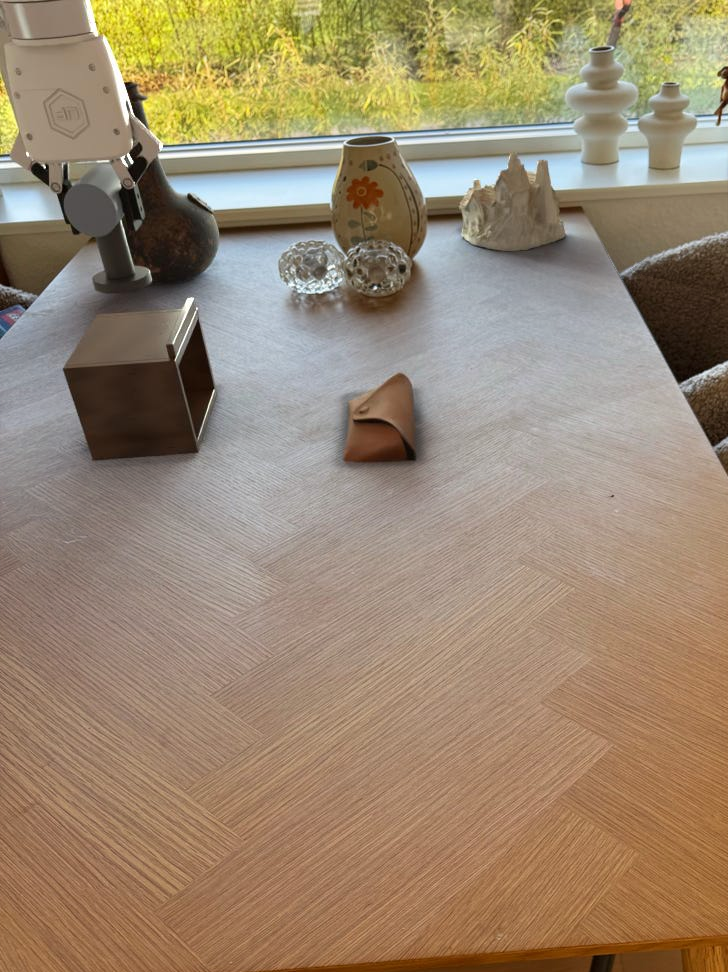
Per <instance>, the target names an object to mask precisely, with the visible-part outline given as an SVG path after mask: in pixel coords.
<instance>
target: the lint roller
mask: <svg viewBox="0 0 728 972" xmlns="http://www.w3.org/2000/svg"><path fill="white" fill-rule="evenodd" d="M120 182H121V181H120V180H119V178H118V176H117V174H116V172H115V170H114V169H113V167H112V165H111V164H108V163H99V164H96V165H94V166H92V167H91V168H89V170H88V171H87V172H86V173H85V174H83V176H82V177H81V178H79V179H78V181H76V183H74V184H73V185H72V187H71V188H70V189H69V190H68V192H67V193H66V195H65V199H64V210H65V213H66V216H67V218H68V220H69V221H70V223H71V224H72V225H73V226H74V227H75V228H76V229H77V230H78V231H80V232H81V233H80V234H83V235H85V236H87V237H91V238H95V241H96V246H97V249H98V252H99V255H100V259H101V262H102V263H101V264H102V266H103V270H101V271H99V272H97V273H95V274H94V275H93V276H92V278H91V281H92V284H93V287H94V290H95V291H96V292H98V293H100V294H110V295H115V294H117V295H118V294H126V293H132V292H135V291H138V290H142V289H144V288H146V287H148V286H149V285H151V284H152V283H151V282H152V278H151V274H150V270H149V269H148V268H145V267H142V266H133V262H132V258H131V254H130V251H129V247H128V243H127V239H126V235H125V232H124V228H123V224H122V220H121V219H122V217H123V216H124V211H123V207H122V202H121V199H120V196H119V191H120V189H121V184H120Z"/></svg>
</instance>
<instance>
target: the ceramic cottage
mask: <svg viewBox="0 0 728 972" xmlns="http://www.w3.org/2000/svg"><path fill="white" fill-rule="evenodd" d="M548 162H549V161H548V160H546V159H538V161H537V163H536V167H535V168H536V169H535V171H531V170H526V168H525V164H524V163H522V162H521V159H520V158H519V157H518V152H513V151H510V153H509V157H508V162H507V168H506V169H502V170H500V171H499V175H498V176H497V179H496V181H495V182H494V183H493V184H490V185H489V184H485V185H484V186H483V187H482V184H481V181H480V179H476V178H475V179H473V181H472V186H471V187H468V190H467V192H466V194H465V195H464V196H463V198H462V200H461V201H460V202H459V206H458V209H459V210H461V215H462V222H463V223H462V224H463V226H462V229H461V238H464V240H465V241H467V242H468V243H470V245H473V246H478V247H480V248H486V249H487V250H488V249H489V250H494V251H497V250H498V251H501V252H517V251H520V250H521V251H526V250H530V249H535V248H538V247H539V248H540V246H543V245H548V244H551V243H554V242H557V241H559V240H562V239H564V238H565V237H566V229H565V226H564V225H565V224H564V221H563V220H562V219H561V218H560V211H561V209H560V207H559V204H558V203H559V202H561V200H562V199H561V197H559V194H557V192H556V190H555V189H554V187H553V186H552V181H551V175H550V170H549V163H548Z"/></svg>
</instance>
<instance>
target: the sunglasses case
mask: <svg viewBox="0 0 728 972" xmlns="http://www.w3.org/2000/svg"><path fill="white" fill-rule="evenodd" d="M414 399H415V397H414V390H413V384H412V383H411V380H410V378H409V377H408V376H407V375H406V374H405V373H402V372H397V373H395V374H394V375H391V377H389V378H388V379H387V380H386V381H384V382H383V383H382V384H380V385H378V386H377V387H375V388H373V389H371V390H369V391H367V392H365V393H363V394H361V395H359V396H357V397H355V398H353V399H351V400H349V402H347V412H348V414H347V415H348V416H347V417H348V418H347V430H346V438H345V445H344V451H343V454H342V461H343V462H346V463H360V464H361V463H362V464H363V463H365V464H367V463H368V464H369V463H390V462H392V463H393V462H407V461H413V462H416V461H417V440H416V421H415V400H414Z"/></svg>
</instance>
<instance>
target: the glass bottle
mask: <svg viewBox="0 0 728 972" xmlns="http://www.w3.org/2000/svg"><path fill="white" fill-rule="evenodd" d="M123 83H124V86H125V89H126V92H127V95H128V98H129V101H130V105H131V108H132V111H133V115H134V116H135V117H136V118H137V119H138V120H139V121H140V122H141V123H142V124H143V125H144V126H145V127H146V128H147V129H148V130H149V131H150V132H151V129H150V127H149V123H148V119H147V116H146V112H145V108H144V104H143V102H144V101H147V100H148V98H149V97H148V96H147V94H142V93H141V92H140V83H137V82H134V81H123ZM142 150H143V147H142V145H141V143H139V142H138V144H137V145H136V146H135V147H133V148H132V149H131V150H130V152H129V153H128V154H129V156H130V158H131V160H132V162H134V160H135V159H136V158H137V156H138V155H139V154H140V153H141V152H142ZM137 185H138V189H139V193H140V197H141V201H142V205H143V209H144V214H145V218H144V219H143V220H142V224H141V226H140V227H139V228H138V230H137V231H131V230H129V229H128V226H127V222H126V218H125V215H124V216H123V217H122V219H121V220H122V224H123V228H124V232H125V235H126V239H127V243H128V247H129V251H130V254H131V258H132V262H133V266H142V267H145V268H148V269H149V270H150V274H151V278H152V282H151V283H150V284H152V285H169V284H170V285H171V284H177V283H183V282H186V281H189V280H192V279H194V278H196V277H198V276H200V275H201V274H203V273H204V272H205V271H206V270H207V269H208V268H209V267H210V266H211V264H212V263H213V262H214V260H215V258H216V256H217V254H218V250H219V246H220V232H219V231H220V230H219V227H218V226H219V225H218V223H217V220H216V219H215V216H214V213H215V212H214V210H213V208H212V207H211V206H210V205H208V203H207V202H205V201H204V200H203V199H201V198H200V197H199V196H197V195H196V194H195V193H192V192H187V194H186V193H181V192H177V190H176V189H174V188H173V186H172V185H171V183H170V181H169V179H168V177H167V175H166V173H165V170H164V168H163V165H162V162H161V159H160V157H159V153H158V154H157V156H156V157H155V158H154V159H153V160H152V162H151V163H150V164H149V165H148V167H147V168H146V170H145V172H144V173H143V175H142V176H141V178H140V179H139V181H138V182H137Z"/></svg>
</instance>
